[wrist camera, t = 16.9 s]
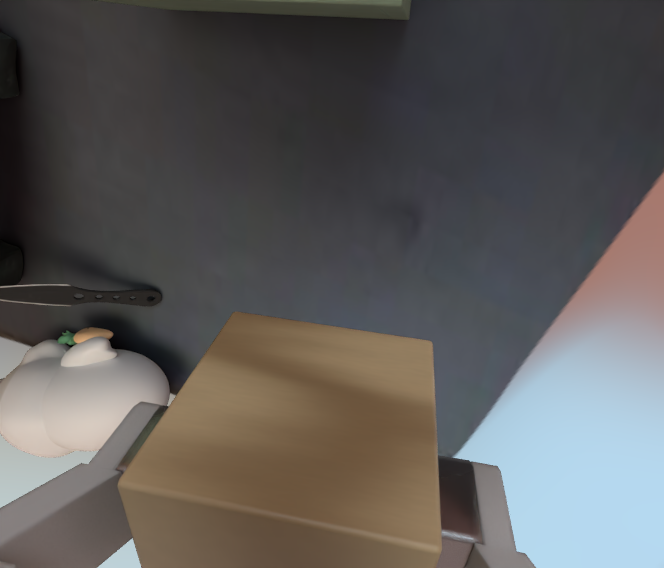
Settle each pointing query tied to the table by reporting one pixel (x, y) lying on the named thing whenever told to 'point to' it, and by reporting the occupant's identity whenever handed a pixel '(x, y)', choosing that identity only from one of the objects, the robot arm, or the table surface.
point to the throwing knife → (65, 295)
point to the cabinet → (288, 7)
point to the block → (293, 454)
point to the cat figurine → (75, 393)
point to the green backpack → (4, 259)
